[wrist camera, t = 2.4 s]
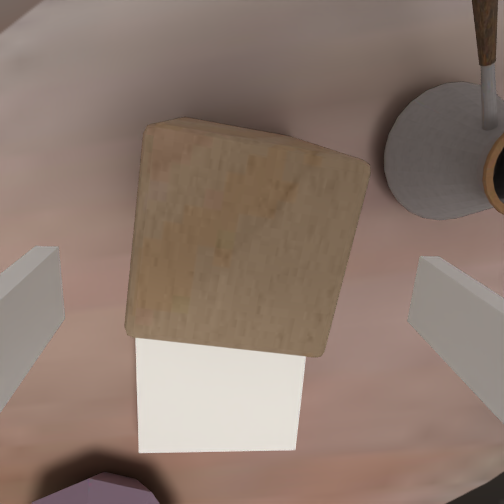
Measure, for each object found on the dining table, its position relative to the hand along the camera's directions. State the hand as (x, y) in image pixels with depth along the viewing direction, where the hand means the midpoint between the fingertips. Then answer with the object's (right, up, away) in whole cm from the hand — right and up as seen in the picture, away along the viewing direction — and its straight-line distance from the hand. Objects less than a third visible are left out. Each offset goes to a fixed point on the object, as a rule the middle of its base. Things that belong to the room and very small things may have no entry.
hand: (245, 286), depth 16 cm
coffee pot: (+15, +15, +22) cm, 30 cm away
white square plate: (-3, -11, +28) cm, 30 cm away
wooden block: (-2, +7, +23) cm, 24 cm away
